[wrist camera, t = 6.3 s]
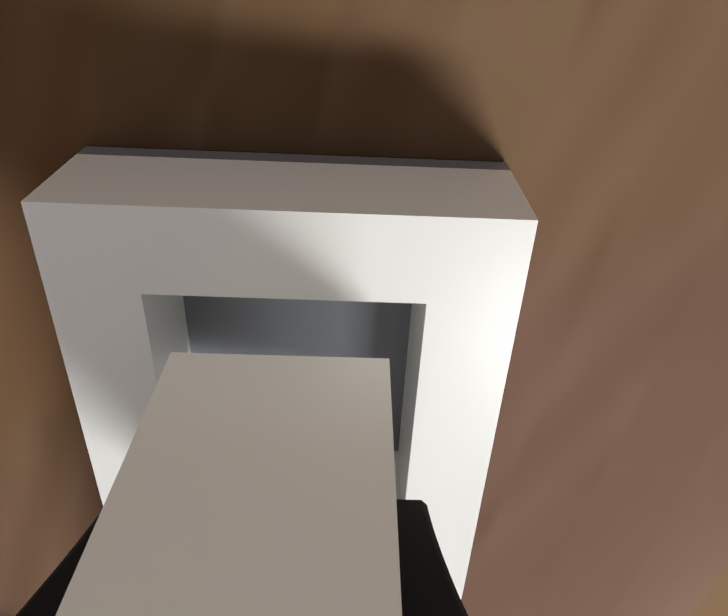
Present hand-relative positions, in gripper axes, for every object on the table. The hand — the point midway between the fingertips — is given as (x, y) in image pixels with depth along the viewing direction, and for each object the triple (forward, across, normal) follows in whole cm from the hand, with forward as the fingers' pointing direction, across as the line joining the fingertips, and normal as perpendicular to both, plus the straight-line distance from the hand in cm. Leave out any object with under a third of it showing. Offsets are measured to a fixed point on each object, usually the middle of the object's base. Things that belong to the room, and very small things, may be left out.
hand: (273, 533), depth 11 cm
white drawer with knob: (+2, 0, 0) cm, 2 cm away
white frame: (+6, 0, +5) cm, 8 cm away
